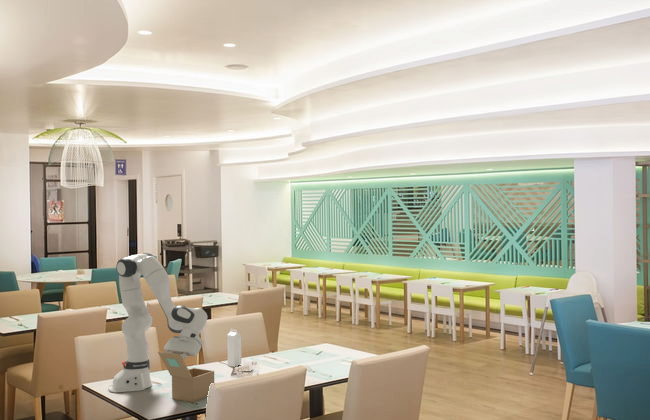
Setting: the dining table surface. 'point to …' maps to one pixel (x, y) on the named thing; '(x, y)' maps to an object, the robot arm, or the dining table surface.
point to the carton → (192, 385)
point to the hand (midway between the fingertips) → (174, 361)
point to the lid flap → (175, 365)
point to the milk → (234, 348)
